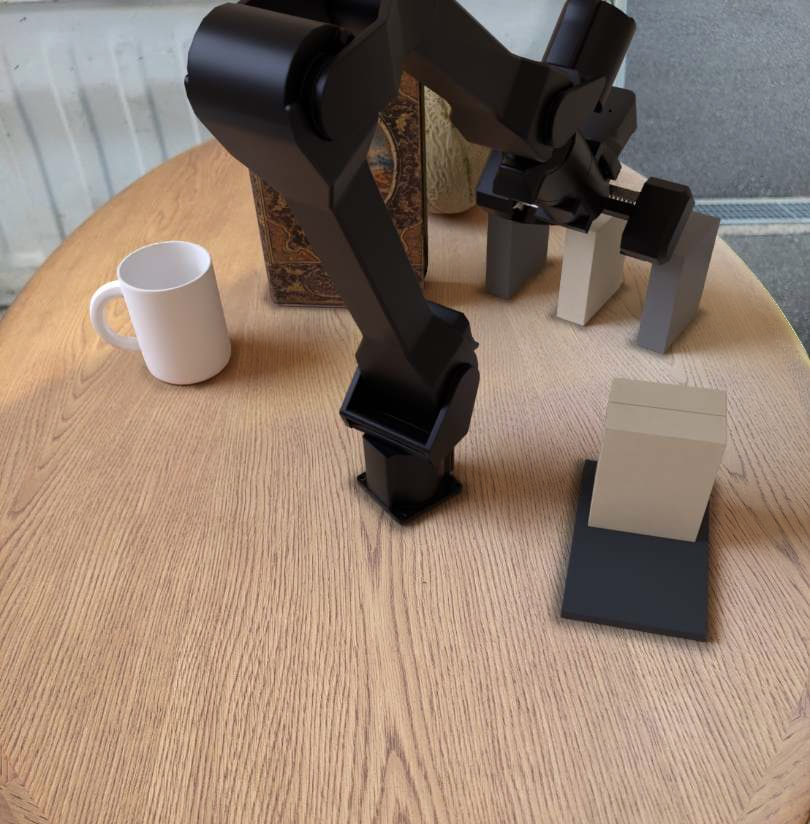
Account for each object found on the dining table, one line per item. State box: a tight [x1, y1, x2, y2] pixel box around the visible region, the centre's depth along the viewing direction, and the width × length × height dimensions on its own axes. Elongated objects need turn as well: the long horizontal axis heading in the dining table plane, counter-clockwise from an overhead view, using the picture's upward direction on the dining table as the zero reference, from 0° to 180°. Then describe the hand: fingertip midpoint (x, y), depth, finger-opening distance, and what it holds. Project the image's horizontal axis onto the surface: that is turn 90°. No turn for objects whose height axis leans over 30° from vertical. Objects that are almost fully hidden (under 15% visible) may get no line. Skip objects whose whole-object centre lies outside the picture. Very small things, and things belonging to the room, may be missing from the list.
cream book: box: [556, 196, 632, 327], centre depth 85 cm, size 8×3×10 cm, turn 145°
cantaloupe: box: [424, 86, 491, 214], centre depth 97 cm, size 15×15×15 cm
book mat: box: [560, 377, 728, 642], centre depth 63 cm, size 10×16×11 cm, turn 166°
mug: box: [89, 240, 232, 386], centre depth 80 cm, size 12×8×10 cm
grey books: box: [484, 210, 722, 355], centre depth 85 cm, size 8×20×10 cm, turn 55°
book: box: [247, 70, 429, 308], centre depth 82 cm, size 16×6×25 cm, turn 84°
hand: (601, 231), depth 83 cm, fingers open, 8 cm apart
